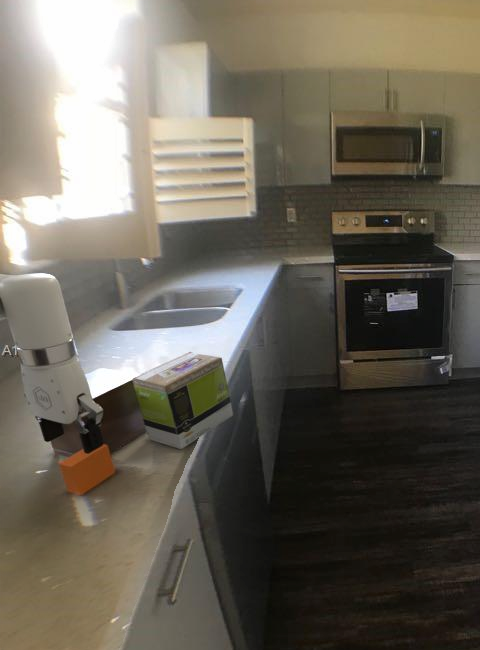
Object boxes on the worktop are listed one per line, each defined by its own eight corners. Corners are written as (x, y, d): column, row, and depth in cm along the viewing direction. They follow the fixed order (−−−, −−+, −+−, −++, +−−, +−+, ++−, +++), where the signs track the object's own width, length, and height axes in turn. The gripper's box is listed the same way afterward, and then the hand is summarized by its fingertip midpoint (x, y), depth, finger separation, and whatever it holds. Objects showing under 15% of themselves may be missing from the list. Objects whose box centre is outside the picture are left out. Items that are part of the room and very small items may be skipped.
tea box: (202, 408, 108) (190, 349, 102) (234, 416, 104) (224, 356, 98) (146, 440, 95) (130, 375, 90) (180, 451, 91) (165, 384, 86)
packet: (68, 491, 80) (58, 463, 78) (103, 468, 87) (95, 441, 84) (80, 495, 79) (71, 466, 77) (115, 472, 85) (107, 444, 83)
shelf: (51, 454, 91) (31, 397, 87) (115, 419, 104) (101, 367, 99) (93, 466, 87) (74, 407, 83) (154, 427, 100) (141, 374, 95)
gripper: (-13, 352, 73) (18, 444, 79) (63, 368, 67) (90, 466, 74) (35, 338, 80) (60, 424, 86) (108, 351, 74) (129, 442, 80)
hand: (74, 443), depth 80 cm, fingers open, 9 cm apart
